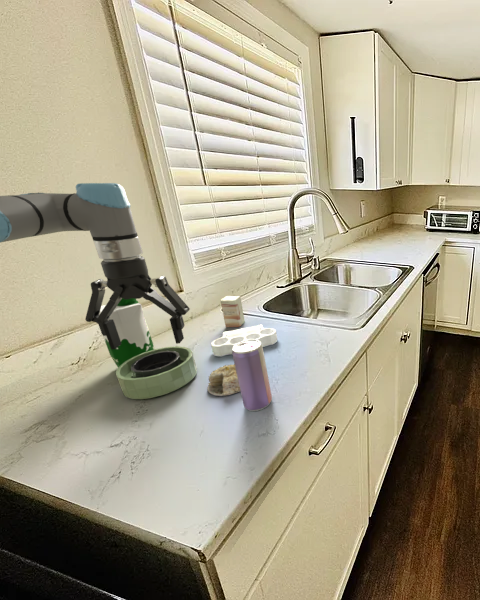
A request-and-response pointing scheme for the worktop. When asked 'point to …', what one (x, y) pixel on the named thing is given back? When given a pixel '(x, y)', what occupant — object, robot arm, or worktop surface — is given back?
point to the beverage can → (252, 374)
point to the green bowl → (157, 376)
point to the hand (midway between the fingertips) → (148, 343)
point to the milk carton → (129, 331)
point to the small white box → (232, 311)
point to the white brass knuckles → (243, 339)
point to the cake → (224, 381)
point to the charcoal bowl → (155, 364)
